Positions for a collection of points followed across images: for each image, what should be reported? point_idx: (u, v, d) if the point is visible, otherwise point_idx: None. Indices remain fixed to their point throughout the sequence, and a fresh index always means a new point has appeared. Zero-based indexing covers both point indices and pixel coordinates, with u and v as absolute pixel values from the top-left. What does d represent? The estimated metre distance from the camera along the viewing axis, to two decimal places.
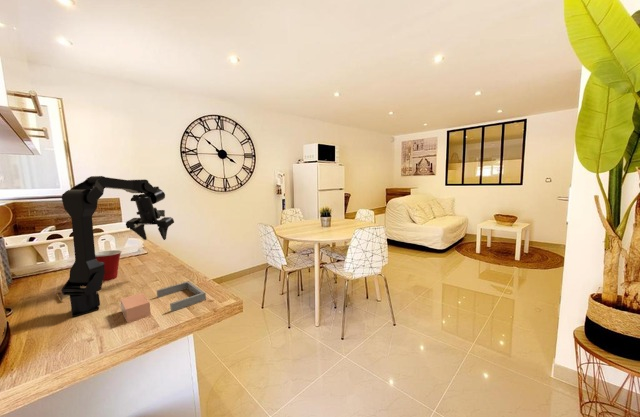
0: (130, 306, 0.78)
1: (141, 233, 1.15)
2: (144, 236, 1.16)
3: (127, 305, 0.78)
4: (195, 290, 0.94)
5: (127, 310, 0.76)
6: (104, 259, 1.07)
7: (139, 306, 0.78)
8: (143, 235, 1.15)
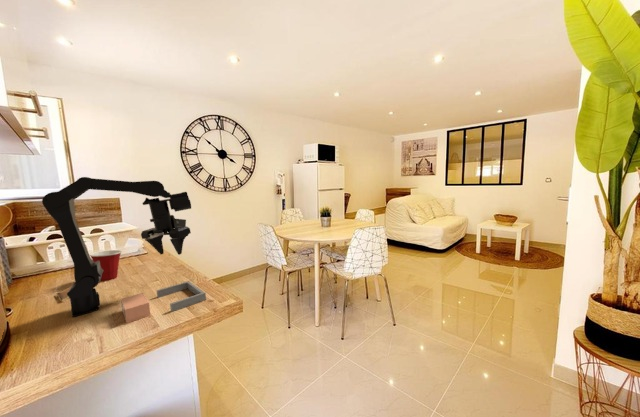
0: (130, 306, 0.78)
1: (157, 245, 0.97)
2: (160, 249, 0.98)
3: (127, 305, 0.78)
4: (195, 290, 0.94)
5: (126, 310, 0.76)
6: (104, 259, 1.07)
7: (139, 306, 0.78)
8: (159, 248, 0.98)
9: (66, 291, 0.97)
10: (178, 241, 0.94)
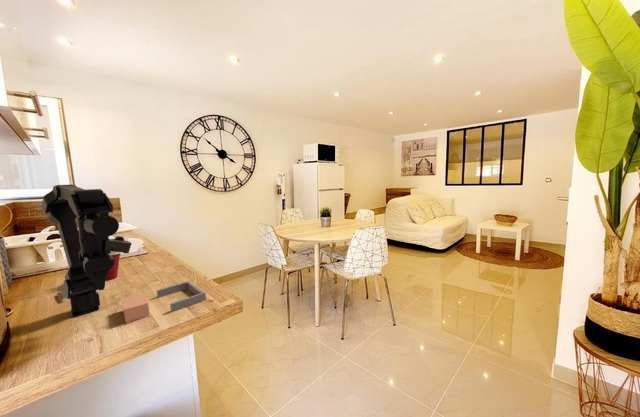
0: (129, 306, 0.78)
1: None
2: None
3: (126, 305, 0.78)
4: (195, 290, 0.94)
5: (125, 310, 0.76)
6: None
7: (138, 306, 0.78)
8: None
9: None
10: (98, 273, 0.70)
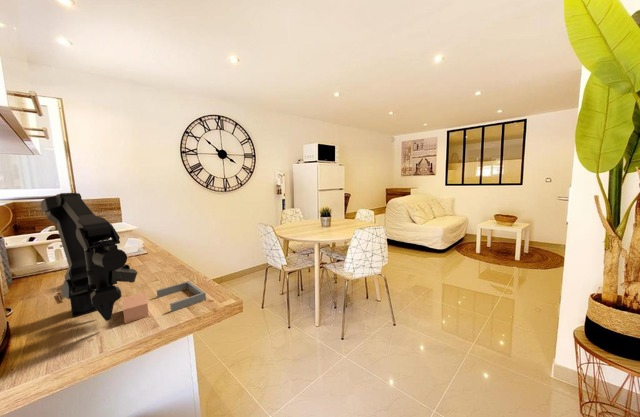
0: (129, 306, 0.78)
1: None
2: None
3: (126, 305, 0.78)
4: (195, 290, 0.94)
5: (124, 310, 0.76)
6: None
7: (137, 307, 0.78)
8: None
9: None
10: (105, 305, 0.72)
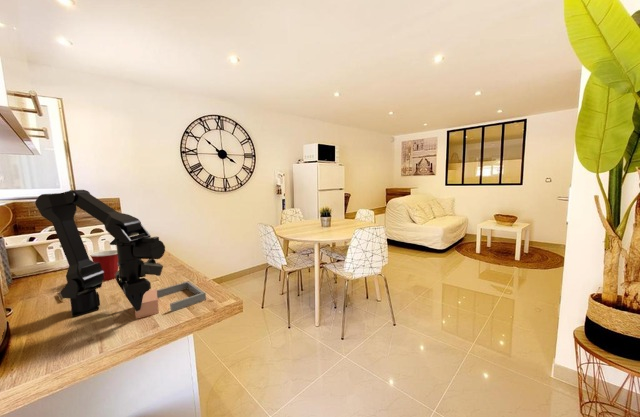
0: None
1: None
2: None
3: None
4: (195, 290, 0.94)
5: None
6: (104, 259, 1.07)
7: (147, 302, 0.80)
8: None
9: None
10: (135, 296, 0.77)
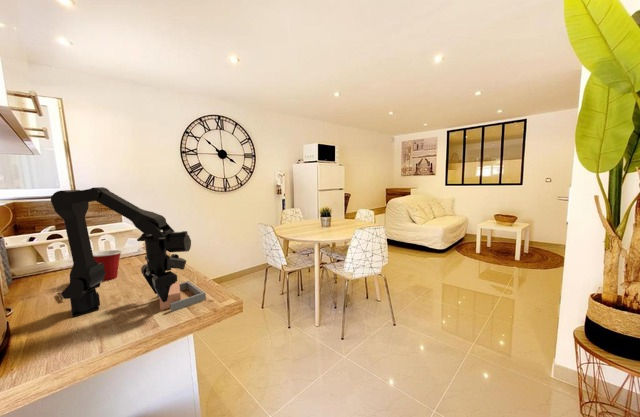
0: None
1: (152, 284, 0.89)
2: None
3: None
4: (195, 290, 0.94)
5: (160, 298, 0.83)
6: (104, 259, 1.07)
7: (171, 295, 0.85)
8: (154, 287, 0.89)
9: None
10: (163, 288, 0.82)
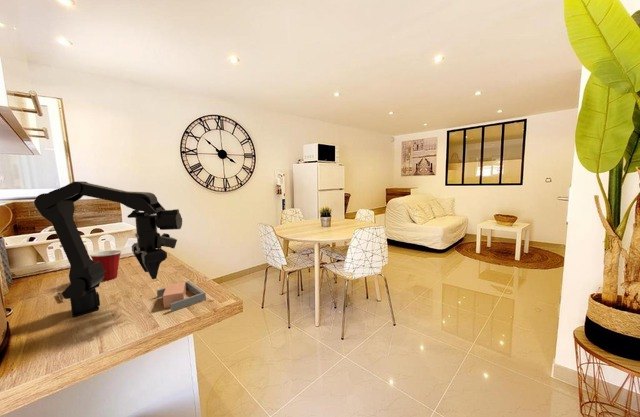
0: (168, 293, 0.86)
1: (142, 262, 0.89)
2: (145, 267, 0.90)
3: (166, 292, 0.87)
4: (195, 290, 0.94)
5: (164, 297, 0.84)
6: (104, 259, 1.07)
7: (174, 294, 0.86)
8: (144, 265, 0.89)
9: None
10: (152, 264, 0.82)
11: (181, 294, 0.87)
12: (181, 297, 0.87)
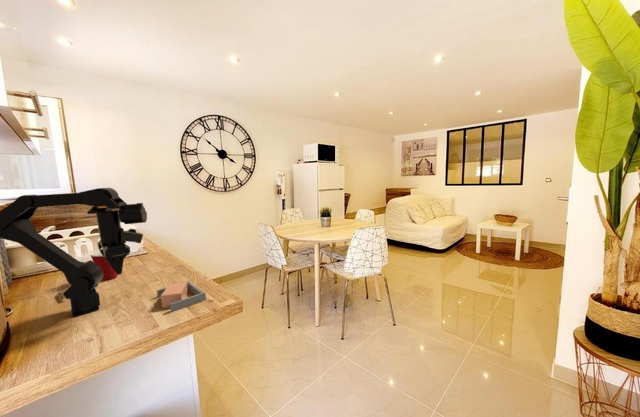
0: (166, 293, 0.86)
1: None
2: None
3: (166, 292, 0.87)
4: (195, 290, 0.94)
5: (162, 296, 0.85)
6: (104, 259, 1.07)
7: (172, 295, 0.85)
8: None
9: None
10: (116, 260, 0.81)
11: (179, 295, 0.86)
12: (179, 298, 0.86)
